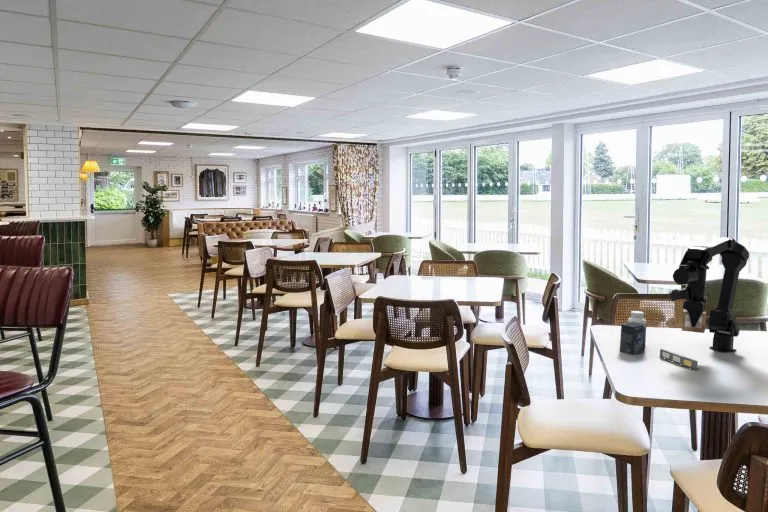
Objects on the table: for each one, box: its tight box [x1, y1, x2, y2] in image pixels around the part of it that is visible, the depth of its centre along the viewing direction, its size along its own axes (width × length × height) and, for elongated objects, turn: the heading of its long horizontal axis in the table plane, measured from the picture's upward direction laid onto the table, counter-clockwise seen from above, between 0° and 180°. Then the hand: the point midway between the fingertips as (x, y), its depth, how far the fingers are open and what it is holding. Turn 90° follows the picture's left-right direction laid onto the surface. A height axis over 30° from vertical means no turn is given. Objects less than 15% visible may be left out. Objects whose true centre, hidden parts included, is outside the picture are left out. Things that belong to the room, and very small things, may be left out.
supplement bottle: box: [627, 310, 647, 342], centre depth 224 cm, size 7×7×13 cm
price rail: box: [659, 348, 701, 371], centre depth 199 cm, size 16×3×3 cm, turn 15°
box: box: [619, 322, 647, 355], centre depth 213 cm, size 8×6×11 cm
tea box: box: [681, 309, 707, 334], centre depth 204 cm, size 7×5×7 cm
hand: (693, 325), depth 204 cm, fingers closed on tea box, 5 cm apart
